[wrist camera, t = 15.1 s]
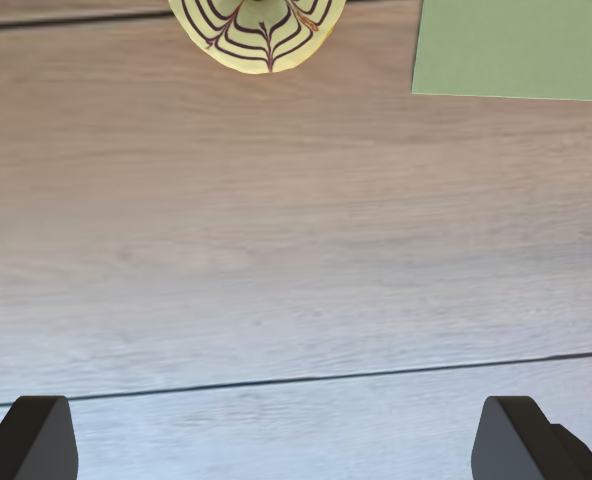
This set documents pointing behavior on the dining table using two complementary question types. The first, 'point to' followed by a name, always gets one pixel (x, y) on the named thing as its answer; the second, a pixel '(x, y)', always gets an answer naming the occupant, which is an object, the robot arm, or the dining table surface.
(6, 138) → the dining table surface
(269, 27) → the decorated donut
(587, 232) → the dining table surface
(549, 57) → the placemat
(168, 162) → the dining table surface
